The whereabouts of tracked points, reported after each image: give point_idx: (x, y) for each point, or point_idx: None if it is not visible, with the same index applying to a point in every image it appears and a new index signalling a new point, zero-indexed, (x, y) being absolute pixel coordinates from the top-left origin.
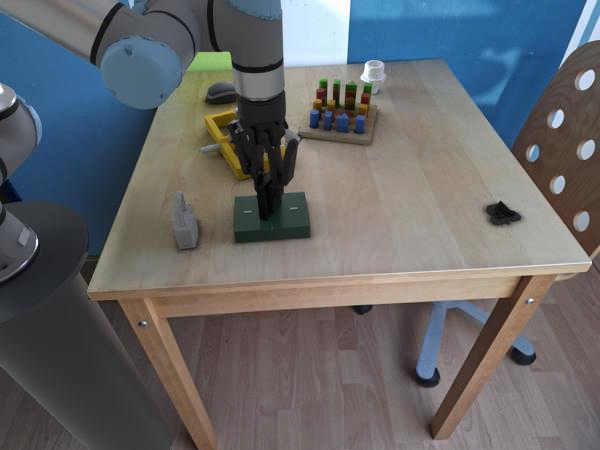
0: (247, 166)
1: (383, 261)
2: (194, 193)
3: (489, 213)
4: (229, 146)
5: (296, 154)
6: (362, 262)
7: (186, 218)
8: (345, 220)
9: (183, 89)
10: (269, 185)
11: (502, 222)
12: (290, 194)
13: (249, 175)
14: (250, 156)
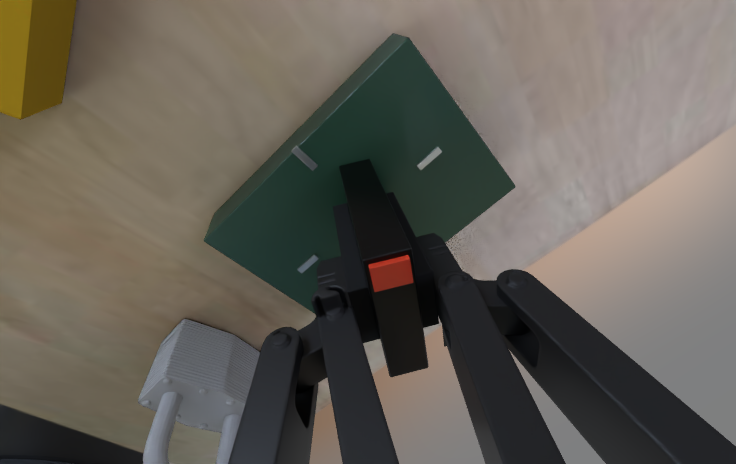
0: (311, 407)
1: (705, 114)
2: (31, 253)
3: None
4: None
5: (695, 419)
6: (650, 152)
7: (216, 406)
8: (571, 24)
9: None
10: (424, 326)
11: None
12: (368, 98)
13: (64, 49)
14: (294, 417)
